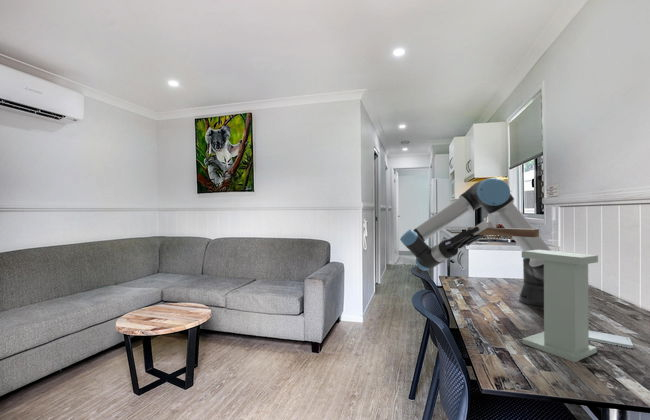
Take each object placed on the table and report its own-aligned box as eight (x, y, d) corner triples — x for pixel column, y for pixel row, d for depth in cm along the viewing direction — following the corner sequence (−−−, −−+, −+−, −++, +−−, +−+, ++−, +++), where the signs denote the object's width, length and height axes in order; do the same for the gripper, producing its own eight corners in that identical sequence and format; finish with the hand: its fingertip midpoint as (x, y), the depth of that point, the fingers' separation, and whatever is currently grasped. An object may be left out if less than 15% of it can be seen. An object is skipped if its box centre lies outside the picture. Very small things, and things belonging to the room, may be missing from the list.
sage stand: (541, 334, 104) (541, 249, 104) (601, 353, 90) (600, 255, 90) (519, 342, 98) (518, 251, 98) (579, 363, 84) (578, 257, 84)
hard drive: (629, 337, 100) (580, 327, 108) (633, 345, 93) (580, 335, 101) (629, 342, 100) (580, 332, 108) (633, 351, 93) (580, 340, 101)
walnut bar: (472, 233, 121) (472, 227, 121) (539, 236, 100) (538, 229, 100) (467, 234, 120) (467, 227, 120) (534, 237, 99) (533, 229, 99)
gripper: (461, 257, 133) (507, 232, 115) (435, 259, 125) (480, 233, 108) (453, 241, 136) (498, 215, 119) (427, 243, 129) (471, 215, 111)
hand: (489, 224), depth 113 cm, fingers closed on walnut bar, 3 cm apart
